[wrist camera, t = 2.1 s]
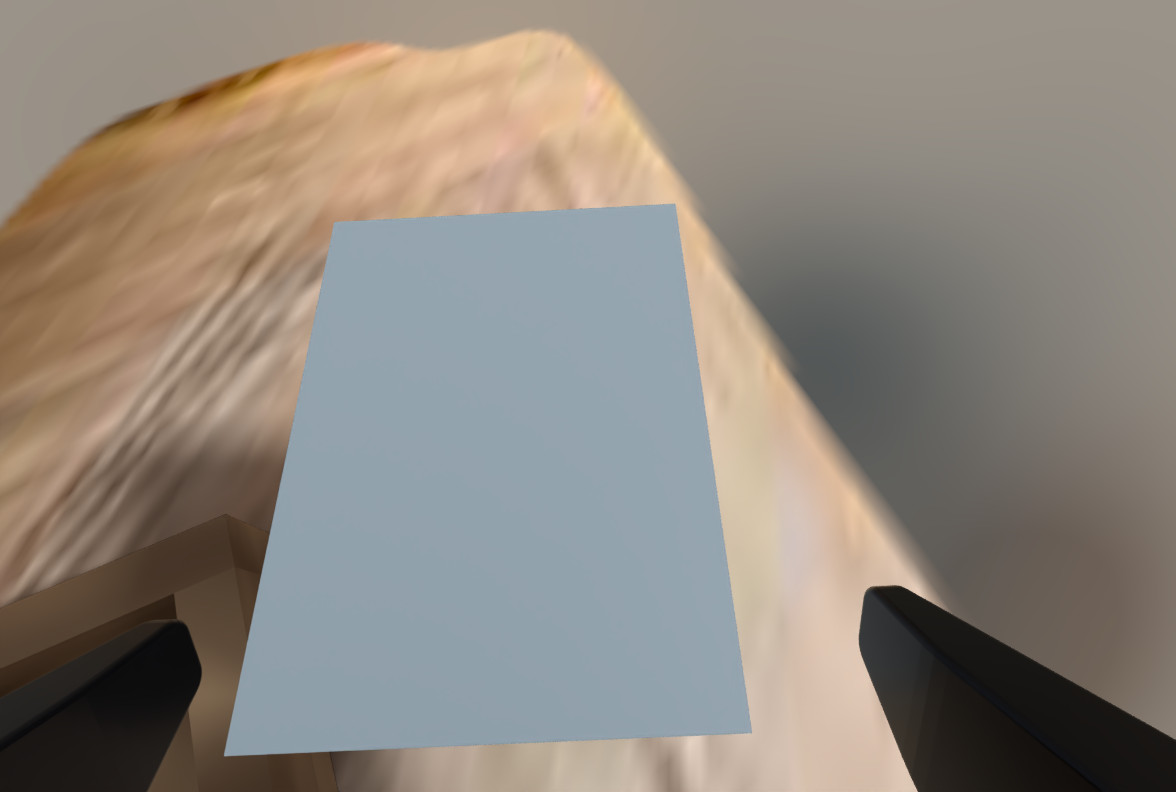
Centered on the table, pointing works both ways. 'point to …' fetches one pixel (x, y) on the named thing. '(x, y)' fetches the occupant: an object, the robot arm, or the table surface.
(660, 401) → the blue-gray rectangular box
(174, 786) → the book rack
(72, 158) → the table surface
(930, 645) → the robot arm
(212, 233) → the table surface
